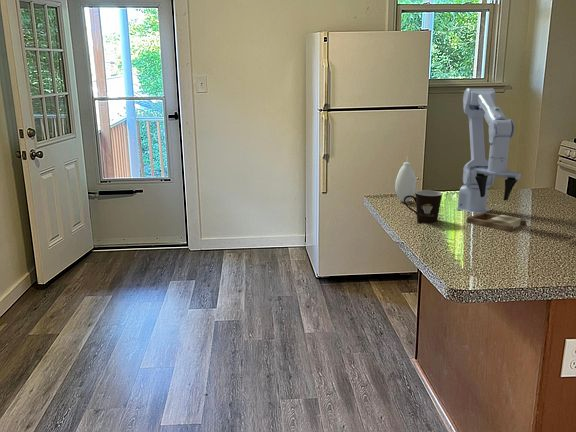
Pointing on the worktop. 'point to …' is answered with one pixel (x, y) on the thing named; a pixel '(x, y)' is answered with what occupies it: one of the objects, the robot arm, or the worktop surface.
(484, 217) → the walnut box
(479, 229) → the worktop surface
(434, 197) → the coffee mug
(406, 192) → the sauce bottle
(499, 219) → the beige rectangular block
